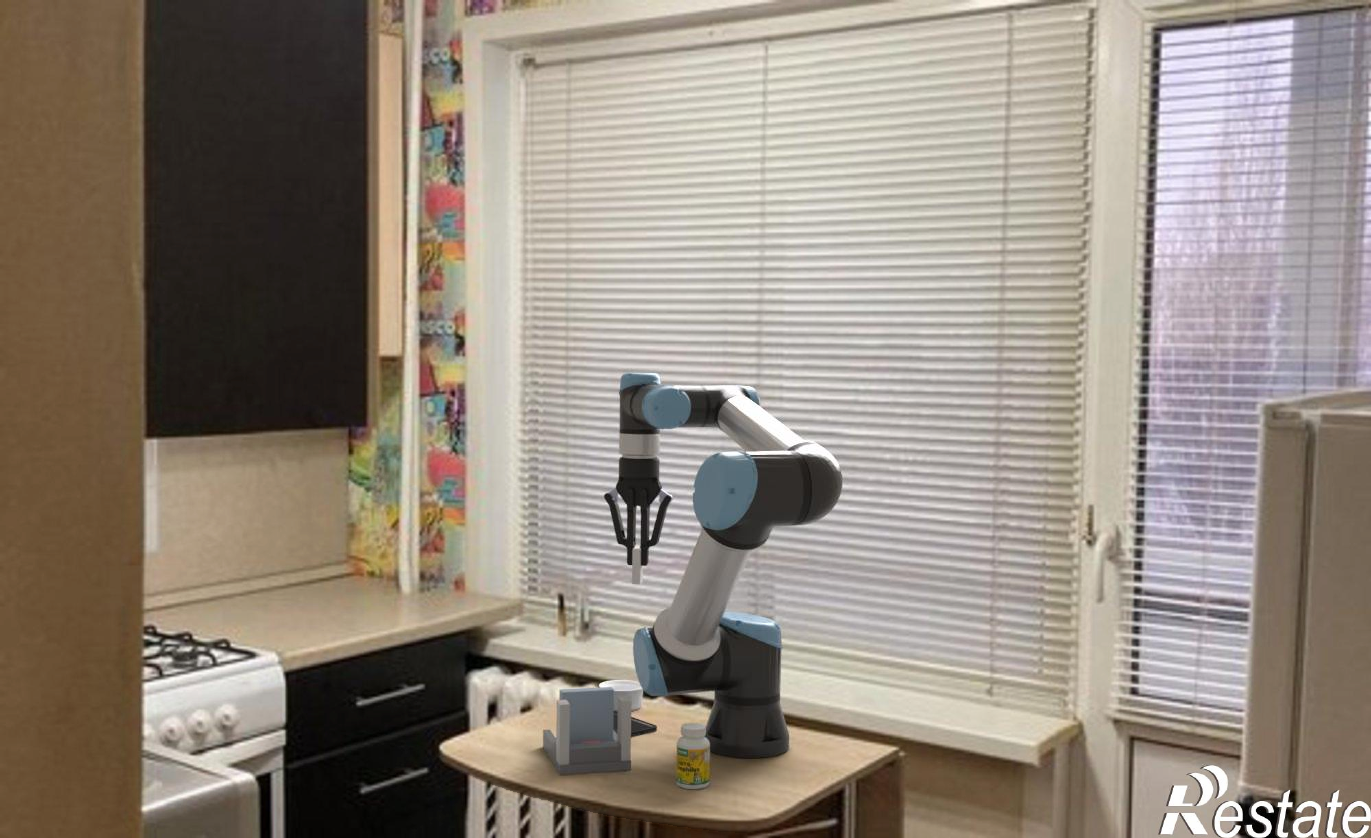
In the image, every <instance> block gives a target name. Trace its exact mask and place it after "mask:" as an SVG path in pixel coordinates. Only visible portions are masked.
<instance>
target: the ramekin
mask: <svg viewBox="0 0 1371 838" xmlns="http://www.w3.org/2000/svg"><path fill="white" fill-rule="evenodd" d="M599 687H612V688H613V689H614V711H616V712H618V697H624V696H627V697H628V698H629V699H630V700H631V712H633V711H636V710H639V709H640V708H641V707H642V703H643V696H644V690H643V689H642V687H641V685H640V683H639V681H635V680H629V679H615V680H606V681H603V682H600V683H599V685H598V688H599Z"/></svg>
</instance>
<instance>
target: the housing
mask: <svg viewBox="0 0 1371 838" xmlns="http://www.w3.org/2000/svg"><path fill="white" fill-rule="evenodd" d="M617 712H618V730H617V734H616V732H615V731H614V730H613V741H607V742H600V741H585V742H582V743H576V744H569V725H570V704H569V703H568V701H567V700H559V699H557V700H556V723H555V724H556V730H555V731H556V733H555V734H556V736H555V735H554V733H553V732H552V731H551V729H543V730H542V734H543V735H542V747H543V749H544V750H545V753H546V754H547V756H548V758H549V759H550V761H551V763H552V764H553V766H554V768H555V770H556V771H557V773H558V775H559V776H563V775H565V776H566V775H577V774H578V775H579V774H580V775H581V774H590V773H594V774H595V773H605V772H606V773H607V772H621V771H631V770H632V760H631V757H632V756H631V755H632V754H631V753H632V751H631V749H632V745H631V744H632V737H631V717H632V711H631V700H630V699H629V698H628V697H627V696H624V697H618V711H617Z"/></svg>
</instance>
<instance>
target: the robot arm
mask: <svg viewBox="0 0 1371 838" xmlns="http://www.w3.org/2000/svg"><path fill="white" fill-rule="evenodd" d="M661 382H662V381H661V376H660V375H659V374H658V373H655V372H625V373H623V374H622V375H621V377H620V383H619V390H618V395H619V435H618V436H619V437H618V453H619V455H622V456H620V458H619V459H618V481H617V483H616V484H615V488H614V489H613V490H611V491H608V492H606V493H605V494H604V495H603V498H604V500H605V502H606V503H607V505H608V507H609V511H610V516H611V519H612V520H611V521H612V526H613V529H614V535H615V538H616V541H617V542H616V543H617V544H618V545H621V546H624V547H625V548H626V565H627V566H632V568H631V584H632V585H641V584H643V582H644V581H643V578H644V575H643V574H644V567H646V566H648V565H649V560H650V559H649V556H650V554H649V551H650V548H651V547H654V546H656V545H658V544H659V541H660V538H661V534H662V530H663V526H664V523H665V519H666V515H667V510H668V507H669V506H670V504H671V503H672V501H673V500H674V495H673V494H672V493H668V492H667V491H665V490H664V489H663V486H662V484H661V481H660V459H659V457H657V456H658V455H660V454H661V451H660V450H661V430H672V429H677V428H718V429H719V430H720V431H722V432H723V433H724V434H725V435H726V436H728V437H729V438H730V439H731V440H732V441H733V442H734V443H736V444H737V445H738V446H739V447H740V448H742V449H743V450H730V451H725V452H716V453H714V454H712V455H710V456H708V457H707V458H706V459H705V460H704V461H703V462H702V464H701V465H700V467H699V468H698V471H697V473H696V475H695V478H694V482H693V488H694V492H692V505H693V511H694V514H695V517H696V519H697V521H698V522H699V525H700V527H701V532H700V534H699V536H698V538H697V541H696V543H695V546H694V549H693V551H692V553H691V556H690V559H689V560H688V564H687V566H686V568H685V571H684V573H683V576H682V579H680V584H679V585H678V588H677V589H676V593H675V596H674V597H673V600H672V602H671V605H670V607H667V608H665V609H664V610H662V611H661V612H660V613H658V615H656V616H657V617H656V618H655V620H654V623H653V625H652V627H647V626H643V627H642V628H638V629H637V630H636V631H635V633H634V636H633V642H632V643H633V645H632V653H633V654H632V655H633V663H634V668H635V669H634V670H635V673H636V678H637V680H638V682H639V683H640V685H641V687H642V689H643V692H644V693H646V694H647V695H649V696H652V697H656V696H659V697H660V696H664V697H667V698H668V697H669V696H678V695H687V694H698V693H706V692H707V693H708V692H714V701H713V705H712V708H711V711H710V713H709V717H708V720H707V722H706V725H705V726H706V734H705V736H704V737H705V738H707V739H708V740H709V742H710V752H712V753H714V754H717V755H722V756H727V757H733V758H745V759H747V758H749V759H753V758H755V759H757V758H768V757H773V756H778V755H781V754H783V753H785V752H787V751H788V750H789V748H790V732H789V729H788V726H787V723H786V720H785V719H786V718H785V716H784V713H783V709H782V706H781V680H782V675H781V674H782V650H783V644H782V643H783V641H782V629H781V627H780V625H779V623H778V622H776V621H775V620H773V619H771V618H768V617H764V616H760V615H755V614H751V613H750V614H749V613H742V612H734V611H733V612H731V611H728V612H727V611H726V609H727V607H728V605H729V603H730V600H731V599H732V595H733V594H734V592H735V589H736V587H737V585H738V582H739V581H740V578H741V576H742V574H743V572H744V569H745V567H746V566H747V563H748V561H749V558H750V556H751V553H752V551H755V550H757V549H759V548H761V547H763V546H764V545H765V544H766V543H767V542H768V540H769V538H770V535H771V533H772V531H773V529H774V528H775V527H791V526H793V527H795V526H804V525H810V524H813V523H816V522H817V521H818V522H819V520H821V519H823V518H824V517H826V516H827V515H828V514H829V513H831V512H832V511H833V509H834V508H835V507H836V504H837V503H838V502H839V500H840V497H841V495H842V489H843V474H842V470H841V468H840V465H839V463H838V461H837V459H836V458H835V457H834V456H833V455H832V454H831V453H830V452H829V451H828V450H827V449H825V447H823V446H821V445H820V444H818V443H817V442H814V441H810V440H804V439H802V438H801V437H800V436H799V435H797V434H796V433H794V431H792V430H790V429H789V428H788V427H787V426H785V425H784V424H783V423H782V422H780V421H779V420H777V418H775V417H774V416H772V415H771V414H769V413H768V412H767V411H766V410H764V409H763V408H762V407H761V406H762V405H761V399H760V396H759V395H758V392H757V390H756V389H755V388H753V387H752V386H747V385H746V386H745V385H739V384H731V385H679V384H678V385H675V384H674V385H671V384H669V385H667V384H663V385H662V383H661ZM619 496H620V497H621V499H622V502H624V504H626V513H627V514H626V533H625V528H624V524H623V519H622V513H621V510H620V506H619V502H618V500H619ZM658 496H659V498H658V502H659V503H660V504H659V507H658V509H657V513H656V518H655V522H654V524H653V525H654V526H653V529H652V533H651V537H650V522H651V521H650V518H651V514H650V511H651V505H652V504H653V503H654V501H655V500H656V499H657V497H658ZM637 507H640V509H639V510H640V542H639V543H640V545H639V546H636V545H637V542H636V541H637V539H636V538H637V537H636V535H637V510H638V509H637Z"/></svg>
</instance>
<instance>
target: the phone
mask: <svg viewBox="0 0 1371 838" xmlns="http://www.w3.org/2000/svg"><path fill="white" fill-rule="evenodd" d="M613 730H614V731H615V732H616V734H617V730H618V711H614V715H613ZM657 730H658V726H657V725H656V724H653V723H650V722H647V721H645V720H641V719H639V718H636V717H633V716H631V738H633V737H638V736H641V735H646V734H650V733H655V732H657Z"/></svg>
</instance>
